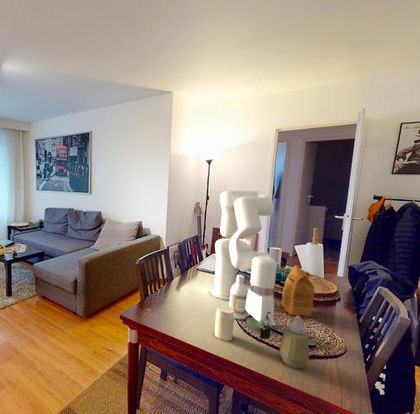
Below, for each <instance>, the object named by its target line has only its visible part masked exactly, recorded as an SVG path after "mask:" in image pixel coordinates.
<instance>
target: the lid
mask: <svg viewBox="0 0 420 414" xmlns="http://www.w3.org/2000/svg"><path fill="white" fill-rule="evenodd" d="M264 323H265V326H266V325H268V324H267V322H264ZM246 327H247V329H248V330H250V331H252V332H255V333H256V334H257V333H258V334H260V331H261V328H262V325H261V322H259V321H258V320H256V319H255V318H248V317H247V319H246Z"/></svg>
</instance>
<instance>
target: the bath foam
mask: <svg viewBox="0 0 420 414" xmlns="http://www.w3.org/2000/svg"><path fill="white" fill-rule="evenodd" d="M248 291H249V290H248V288H247V286H246V285H245V275H244V274H243V275H242V274H236V279H235V284H234V285H233V286H232V288H231V291H230V300H229V303H228V305H229V306H228V307H230V308H232V309H233V310H234V319H236V320H245V319H246V318H247V313H248V312H247V311H246V299H247V294H248Z"/></svg>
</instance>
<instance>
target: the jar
mask: <svg viewBox="0 0 420 414" xmlns="http://www.w3.org/2000/svg"><path fill="white" fill-rule="evenodd" d="M214 322H215V323H214V324H215V325H214V336H215V337H216V338H218V339H219V340H221V341H231V340H233V336H234V335H233V334H234V322H235V318H234V310H233V309H232V308H230V307H229V306H227V305H222V304H221V305H217V306H216V311H215V321H214Z"/></svg>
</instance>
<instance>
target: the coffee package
mask: <svg viewBox="0 0 420 414" xmlns="http://www.w3.org/2000/svg"><path fill="white" fill-rule="evenodd" d="M309 276H311V273H310V272H308V271H305V270H302V269H301V267H300V266H299V265H298V264H295V265H294V267H293V268H292V269H291V271H290V272H289V274H287V277H286V279H285V283H284V285H283V290H282V299H281V307H283V309H284V311H285V312H287V314H289V315H291V316H303V317H312V311H313V307H314V295H315V286H314V285H313V283H312V281H311V280H310V278H309Z"/></svg>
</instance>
